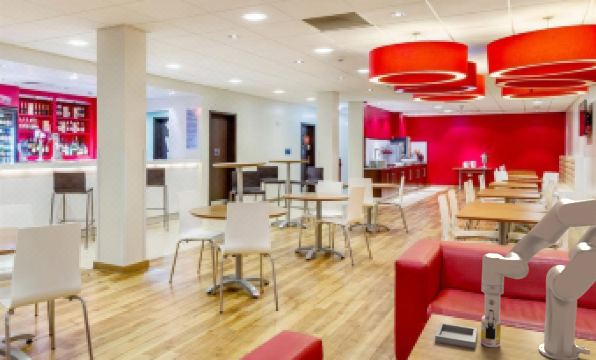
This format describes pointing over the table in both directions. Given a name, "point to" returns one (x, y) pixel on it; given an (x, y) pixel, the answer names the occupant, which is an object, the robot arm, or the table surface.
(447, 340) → the tray
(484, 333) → the supplement bottle
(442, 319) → the table surface
